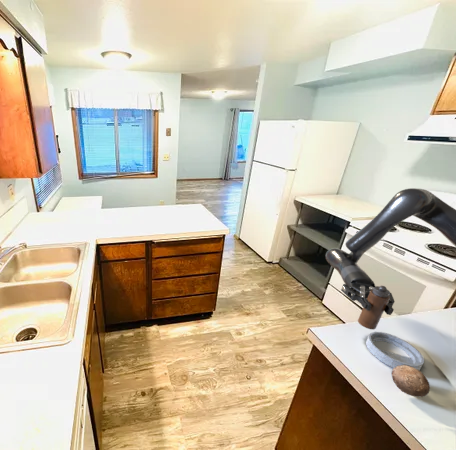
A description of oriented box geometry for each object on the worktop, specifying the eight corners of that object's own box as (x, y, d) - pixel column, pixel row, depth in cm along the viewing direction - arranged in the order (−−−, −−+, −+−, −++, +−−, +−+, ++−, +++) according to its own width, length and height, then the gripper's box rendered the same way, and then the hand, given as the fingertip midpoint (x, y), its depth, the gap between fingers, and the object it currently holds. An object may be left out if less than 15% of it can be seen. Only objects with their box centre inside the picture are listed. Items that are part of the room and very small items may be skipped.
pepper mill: (371, 320, 79) (388, 283, 74) (378, 331, 75) (397, 292, 69) (355, 317, 80) (370, 280, 75) (361, 327, 76) (378, 288, 71)
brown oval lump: (393, 357, 74) (408, 358, 68) (422, 380, 70) (441, 383, 65) (379, 377, 72) (394, 379, 67) (408, 402, 69) (426, 407, 63)
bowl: (403, 345, 83) (407, 337, 82) (430, 379, 72) (435, 371, 70) (358, 335, 87) (361, 327, 86) (376, 366, 75) (380, 358, 74)
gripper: (336, 267, 88) (355, 295, 73) (384, 274, 84) (414, 306, 69) (330, 284, 91) (348, 314, 76) (376, 292, 87) (404, 326, 72)
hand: (379, 310), depth 72 cm, fingers closed on pepper mill, 4 cm apart
